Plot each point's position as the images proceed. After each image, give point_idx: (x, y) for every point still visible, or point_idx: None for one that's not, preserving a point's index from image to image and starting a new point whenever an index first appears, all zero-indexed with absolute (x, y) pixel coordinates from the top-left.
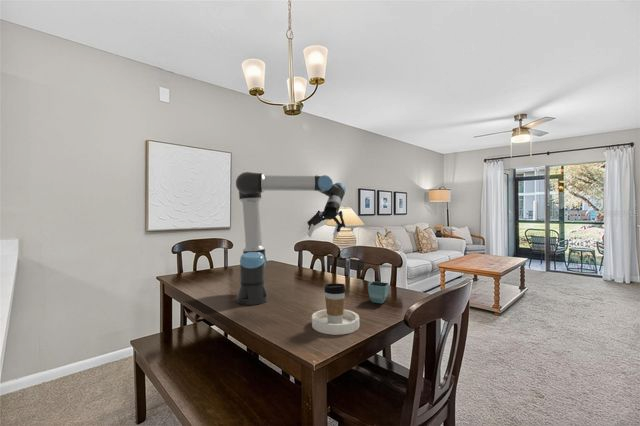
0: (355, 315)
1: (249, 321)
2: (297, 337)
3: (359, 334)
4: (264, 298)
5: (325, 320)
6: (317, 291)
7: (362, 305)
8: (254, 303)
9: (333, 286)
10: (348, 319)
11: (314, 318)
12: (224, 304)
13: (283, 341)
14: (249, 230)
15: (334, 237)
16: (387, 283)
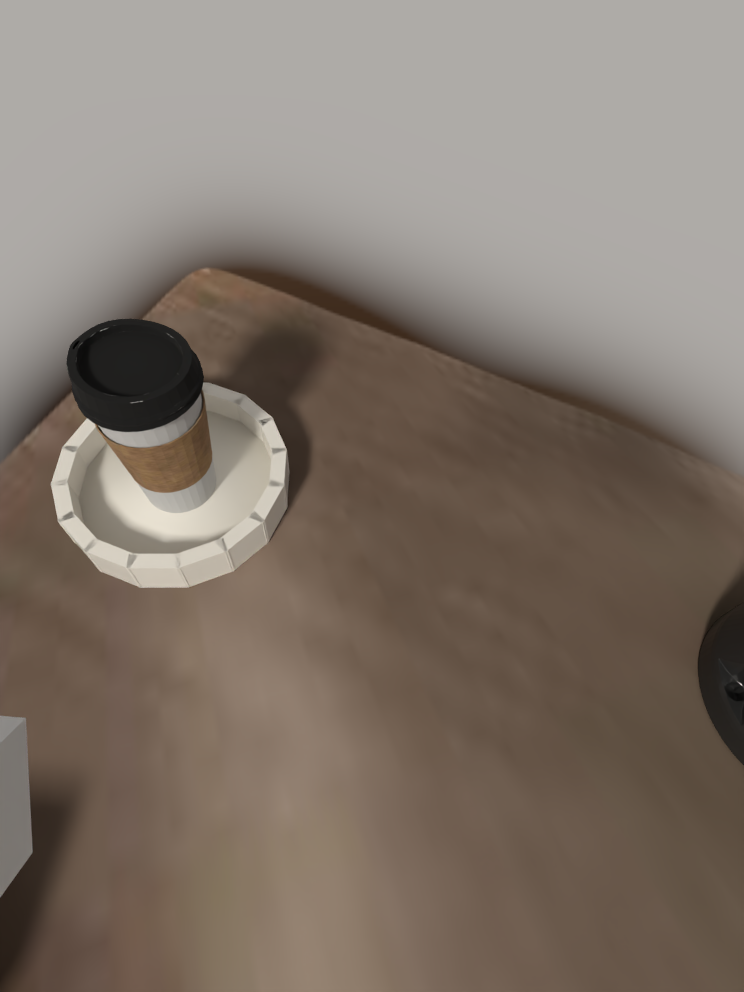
0: (70, 500)
1: (554, 429)
2: (301, 362)
3: (71, 434)
4: (713, 676)
5: (230, 492)
6: None
7: (23, 874)
8: (718, 620)
9: (145, 381)
10: (118, 533)
11: (263, 420)
12: None
13: (334, 330)
14: None
15: (18, 822)
16: None
